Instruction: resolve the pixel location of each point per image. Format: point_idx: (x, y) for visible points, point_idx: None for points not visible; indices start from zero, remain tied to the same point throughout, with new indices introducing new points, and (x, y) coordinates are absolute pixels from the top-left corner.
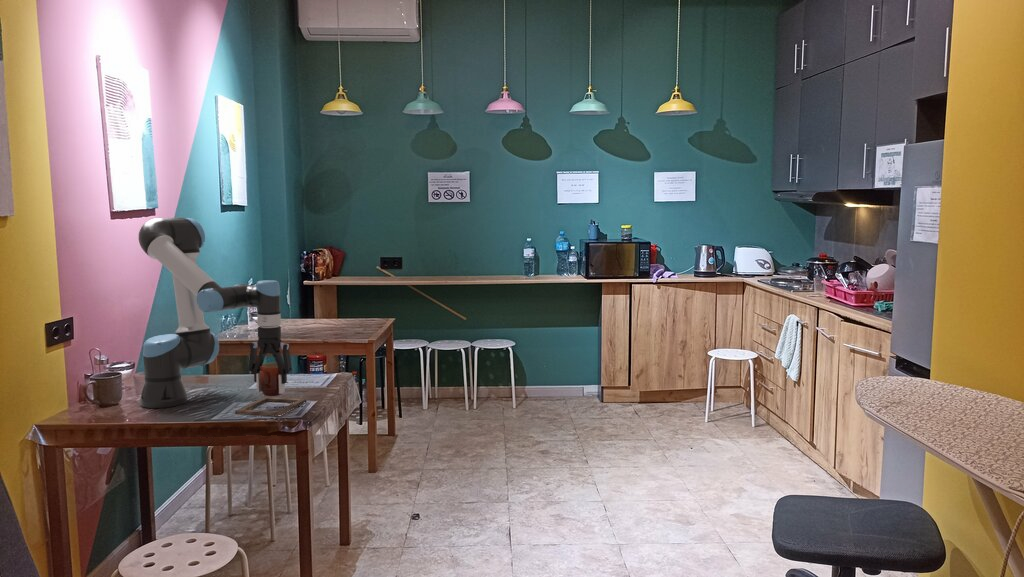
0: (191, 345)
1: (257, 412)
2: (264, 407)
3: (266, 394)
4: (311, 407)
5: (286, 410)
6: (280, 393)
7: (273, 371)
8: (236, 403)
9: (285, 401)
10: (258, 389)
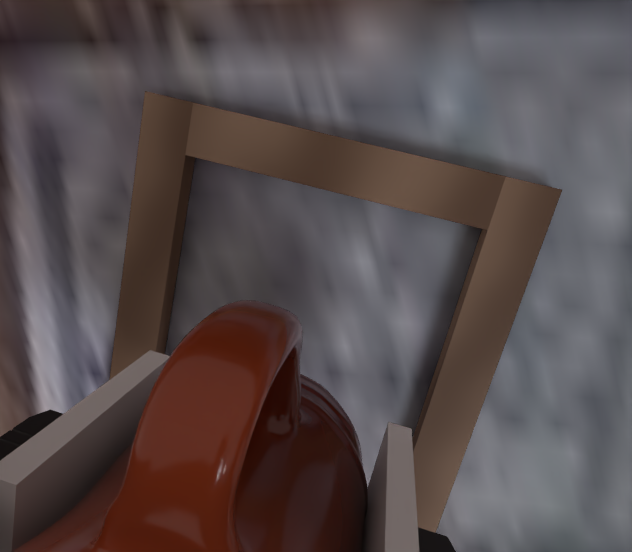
0: None
1: (344, 138)
2: (353, 369)
3: (300, 375)
4: (27, 337)
5: (134, 205)
6: (153, 352)
7: (44, 539)
8: (611, 508)
9: None
10: (390, 441)
